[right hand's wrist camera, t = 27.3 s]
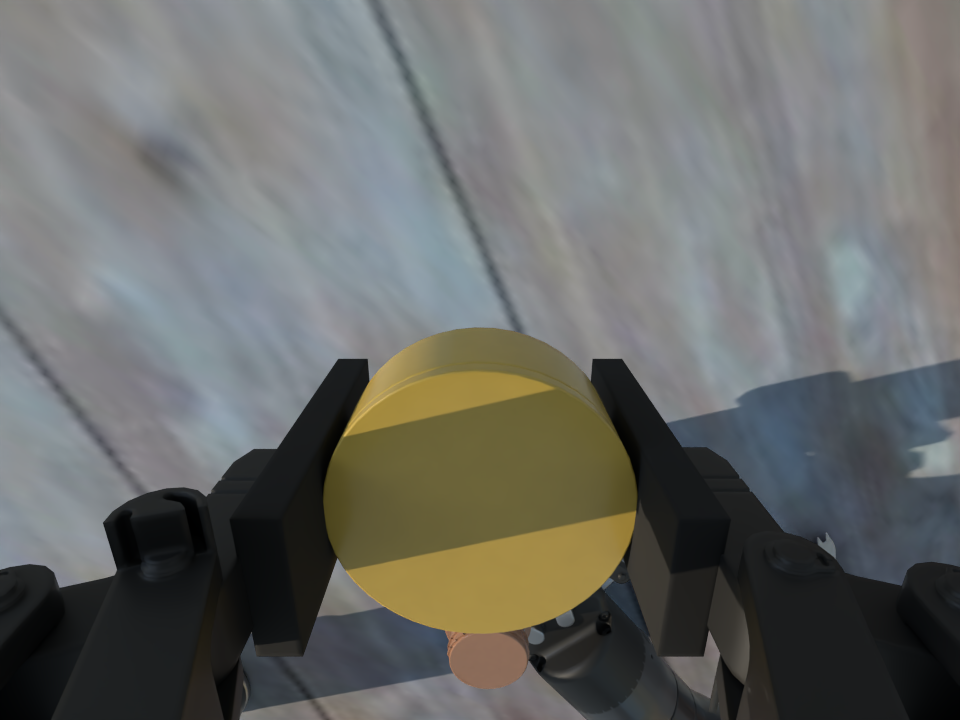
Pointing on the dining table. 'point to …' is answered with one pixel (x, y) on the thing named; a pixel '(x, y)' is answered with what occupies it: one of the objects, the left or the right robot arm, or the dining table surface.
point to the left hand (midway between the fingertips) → (462, 521)
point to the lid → (480, 484)
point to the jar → (488, 657)
